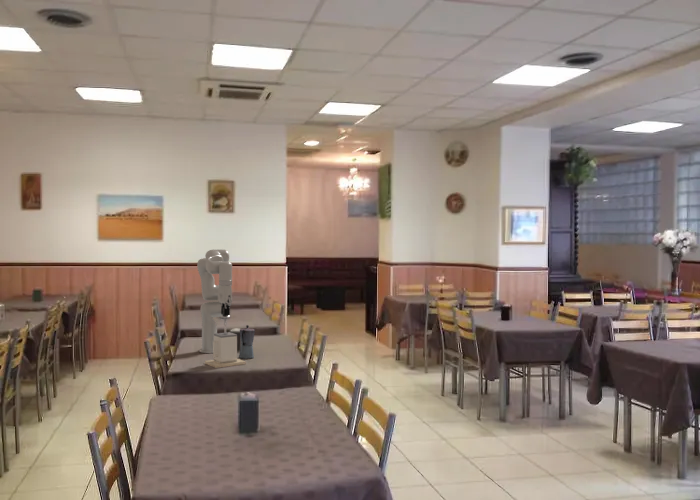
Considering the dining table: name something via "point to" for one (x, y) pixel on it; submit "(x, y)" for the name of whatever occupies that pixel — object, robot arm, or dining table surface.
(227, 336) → the white box
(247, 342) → the moka pot
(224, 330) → the plunger
